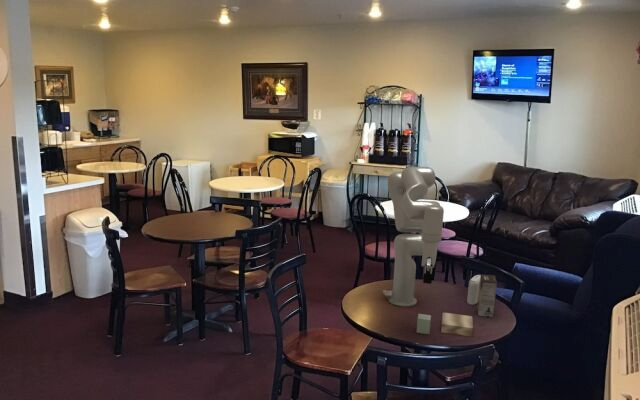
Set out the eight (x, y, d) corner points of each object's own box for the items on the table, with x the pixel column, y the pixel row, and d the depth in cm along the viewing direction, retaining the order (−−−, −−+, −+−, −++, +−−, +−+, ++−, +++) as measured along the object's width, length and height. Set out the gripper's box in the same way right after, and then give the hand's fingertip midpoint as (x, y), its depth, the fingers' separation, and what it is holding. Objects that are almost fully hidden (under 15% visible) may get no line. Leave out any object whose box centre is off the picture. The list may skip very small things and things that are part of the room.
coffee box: (476, 307, 249) (480, 273, 246) (491, 309, 248) (495, 275, 245) (478, 315, 240) (481, 280, 237) (493, 317, 239) (497, 282, 236)
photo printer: (474, 305, 251) (477, 279, 249) (465, 303, 254) (468, 277, 251) (483, 299, 259) (486, 274, 257) (475, 297, 262) (477, 272, 259)
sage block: (416, 332, 221) (417, 318, 220) (417, 327, 226) (418, 313, 225) (429, 334, 220) (430, 320, 219) (429, 329, 225) (431, 315, 224)
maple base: (440, 333, 223) (441, 323, 222) (441, 321, 234) (442, 312, 233) (471, 337, 220) (472, 328, 219) (471, 325, 231) (472, 316, 231)
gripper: (423, 230, 224) (419, 271, 228) (420, 241, 208) (416, 285, 211) (442, 232, 223) (438, 273, 226) (440, 243, 206) (436, 287, 209)
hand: (427, 279), depth 219 cm, fingers open, 9 cm apart
